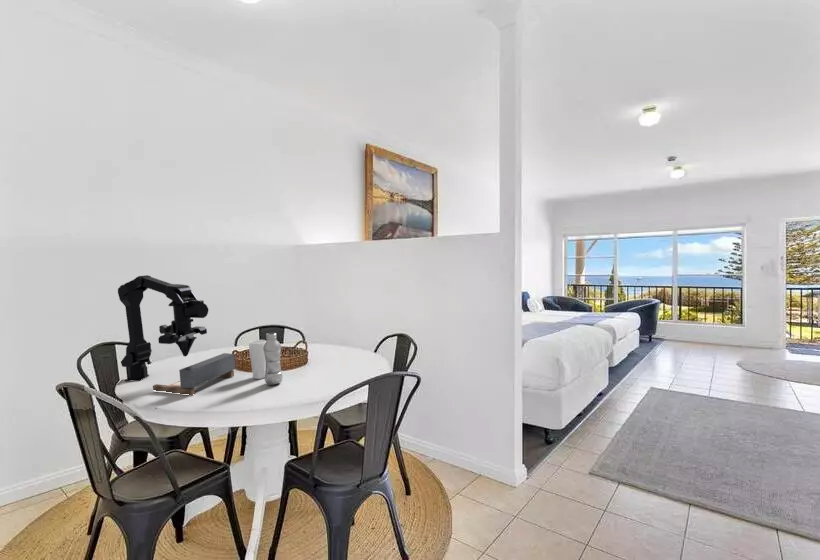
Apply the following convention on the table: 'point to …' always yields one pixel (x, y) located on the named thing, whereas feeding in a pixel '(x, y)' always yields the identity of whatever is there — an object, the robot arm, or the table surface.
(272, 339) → the plastic bottle
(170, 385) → the label tile
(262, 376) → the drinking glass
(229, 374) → the rails
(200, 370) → the arm
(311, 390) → the table surface
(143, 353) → the robot arm
